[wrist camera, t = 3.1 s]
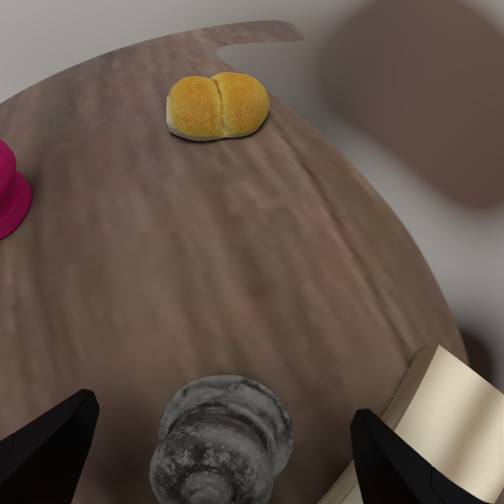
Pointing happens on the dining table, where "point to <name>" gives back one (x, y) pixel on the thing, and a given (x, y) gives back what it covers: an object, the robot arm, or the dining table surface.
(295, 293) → the dining table surface
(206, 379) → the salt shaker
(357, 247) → the dining table surface
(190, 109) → the bread roll
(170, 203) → the dining table surface
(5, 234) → the pepper mill
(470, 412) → the plate
